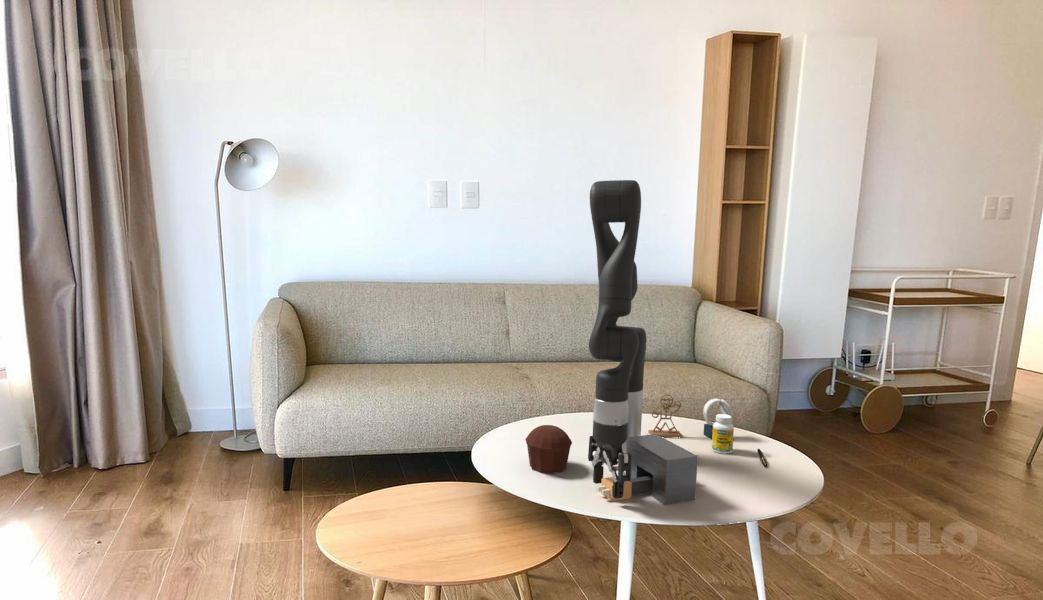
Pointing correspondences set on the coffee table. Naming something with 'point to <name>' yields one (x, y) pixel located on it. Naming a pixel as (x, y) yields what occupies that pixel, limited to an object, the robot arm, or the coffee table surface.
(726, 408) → the watch
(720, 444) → the supplement bottle
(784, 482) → the coffee table surface
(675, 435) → the gingerbread man figurine
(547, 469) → the muffin
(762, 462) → the fountain pen
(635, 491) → the plug
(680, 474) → the bridge-shaped block
